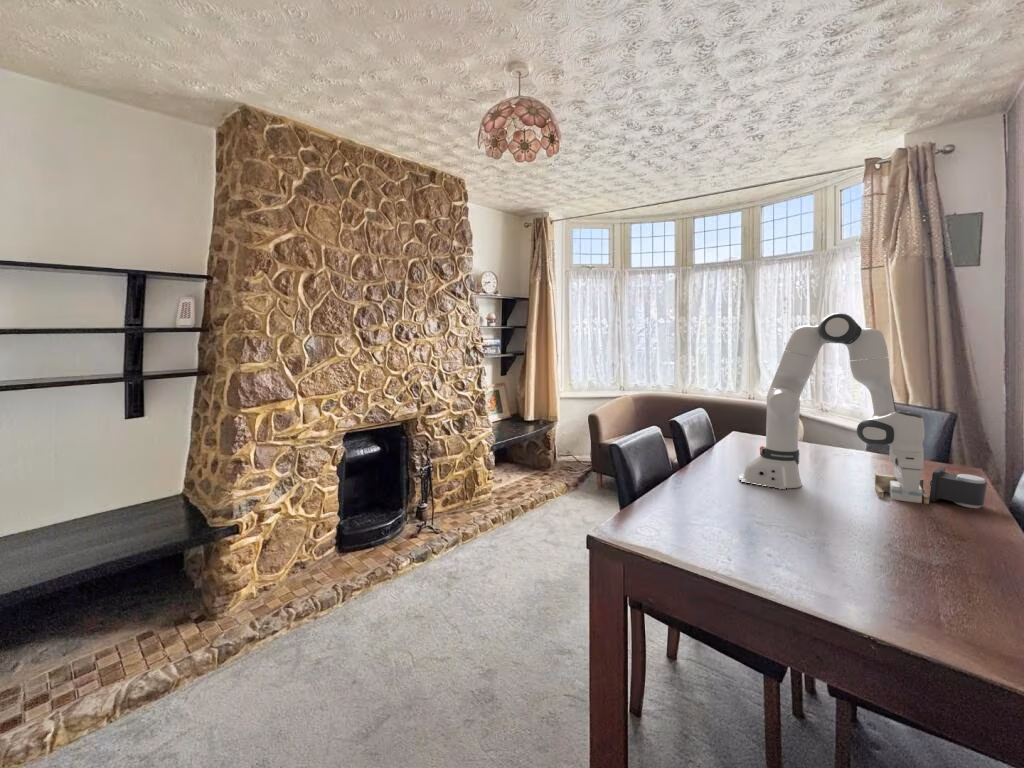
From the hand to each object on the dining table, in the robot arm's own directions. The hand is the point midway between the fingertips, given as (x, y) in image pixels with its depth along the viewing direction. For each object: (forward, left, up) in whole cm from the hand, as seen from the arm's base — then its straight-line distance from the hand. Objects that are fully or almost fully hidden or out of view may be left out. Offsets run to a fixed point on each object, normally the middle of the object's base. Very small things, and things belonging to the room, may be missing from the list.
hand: (904, 496), depth 156 cm
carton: (+1, +6, -2) cm, 7 cm away
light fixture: (+15, +7, -2) cm, 17 cm away
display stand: (0, +6, -2) cm, 6 cm away
